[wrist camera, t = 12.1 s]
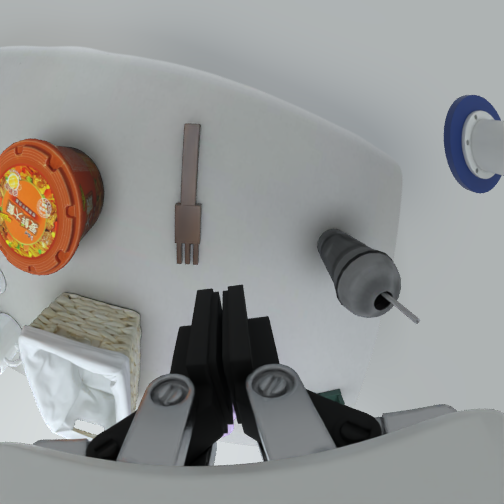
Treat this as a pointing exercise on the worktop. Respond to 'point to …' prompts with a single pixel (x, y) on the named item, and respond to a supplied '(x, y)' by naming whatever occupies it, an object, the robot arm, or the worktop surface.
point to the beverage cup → (361, 275)
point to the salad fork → (189, 198)
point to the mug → (9, 342)
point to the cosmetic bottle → (2, 283)
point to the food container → (46, 204)
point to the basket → (82, 363)
